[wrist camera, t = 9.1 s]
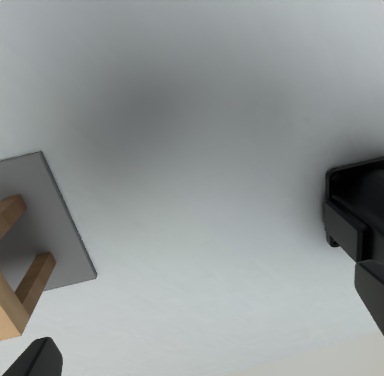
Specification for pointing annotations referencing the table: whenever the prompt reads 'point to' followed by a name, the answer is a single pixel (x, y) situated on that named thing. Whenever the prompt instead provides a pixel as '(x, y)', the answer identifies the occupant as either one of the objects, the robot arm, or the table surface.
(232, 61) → the table surface
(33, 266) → the stool
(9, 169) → the mat
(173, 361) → the table surface
